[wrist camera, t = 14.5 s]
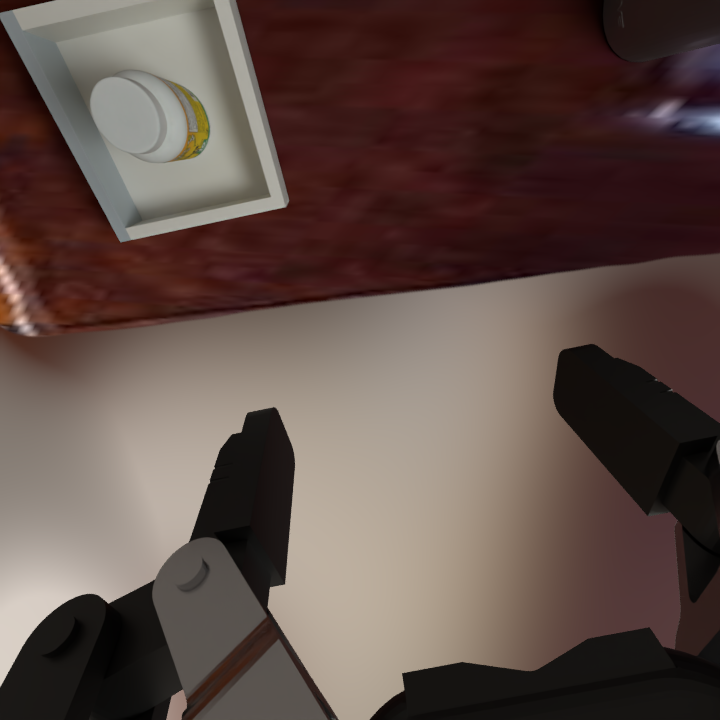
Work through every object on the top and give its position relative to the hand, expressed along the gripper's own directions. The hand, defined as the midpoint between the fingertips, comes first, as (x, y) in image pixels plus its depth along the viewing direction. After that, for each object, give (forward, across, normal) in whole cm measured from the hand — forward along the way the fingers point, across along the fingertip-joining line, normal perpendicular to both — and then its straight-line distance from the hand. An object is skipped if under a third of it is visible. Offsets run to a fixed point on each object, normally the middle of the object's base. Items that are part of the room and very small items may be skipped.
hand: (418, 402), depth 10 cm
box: (+30, +13, -10) cm, 34 cm away
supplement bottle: (+30, +13, -10) cm, 34 cm away
